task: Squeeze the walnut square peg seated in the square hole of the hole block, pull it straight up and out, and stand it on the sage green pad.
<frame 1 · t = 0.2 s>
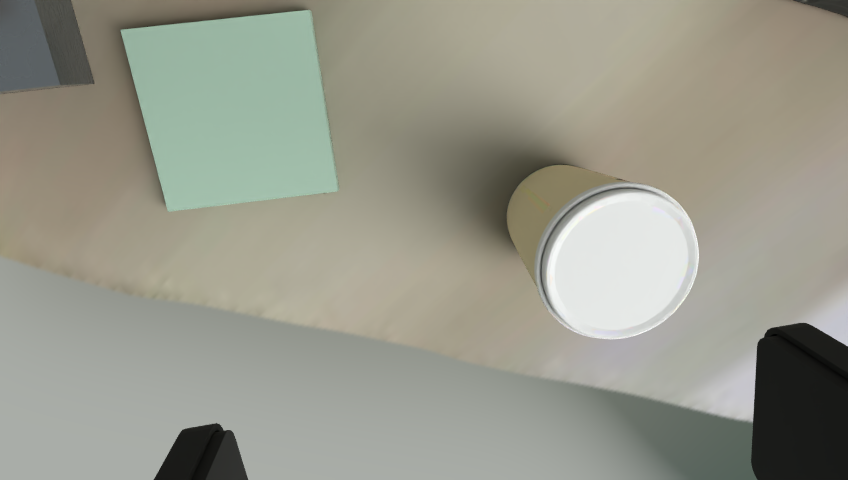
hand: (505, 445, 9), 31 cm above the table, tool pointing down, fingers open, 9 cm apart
coffee cup: (554, 213, 41), on the table
green pad: (239, 114, 37), on the table
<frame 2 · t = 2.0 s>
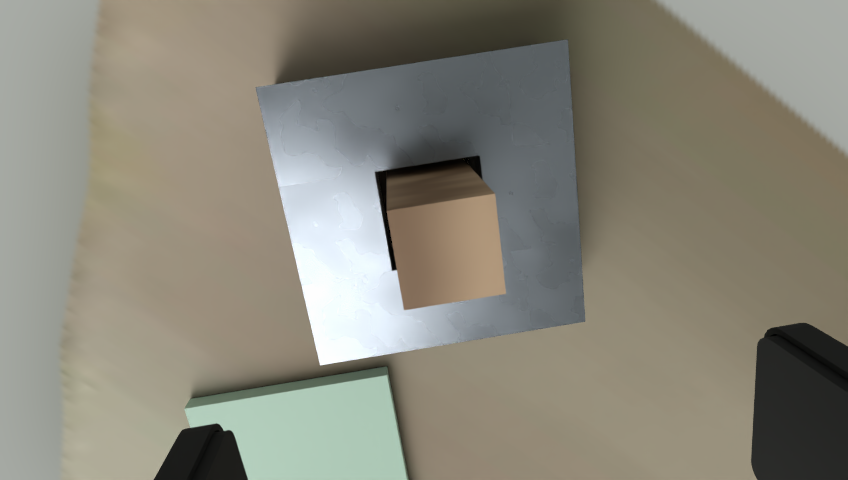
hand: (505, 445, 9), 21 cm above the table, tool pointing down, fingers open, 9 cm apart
hole block: (428, 196, 30), on the table
walnut peg: (436, 219, 25), in the hole block
green pad: (309, 463, 34), on the table
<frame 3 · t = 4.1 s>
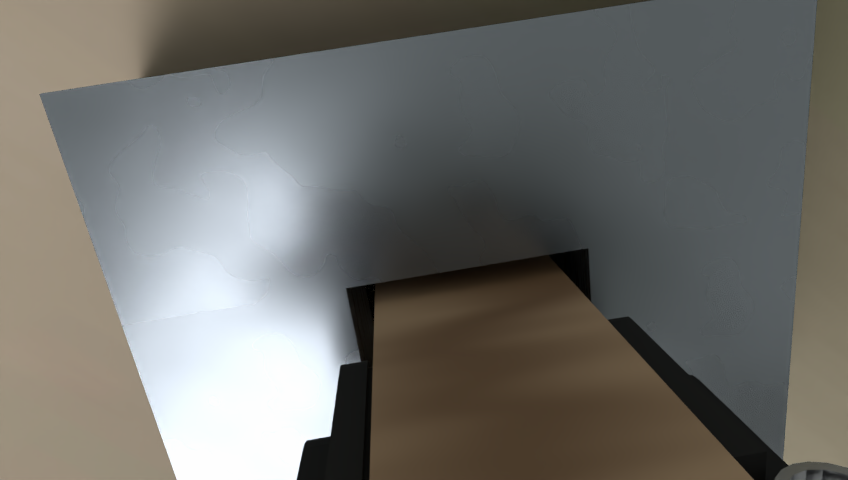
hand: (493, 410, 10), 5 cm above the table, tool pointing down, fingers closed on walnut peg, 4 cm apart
hole block: (456, 300, 15), on the table
walnut peg: (490, 400, 11), in the hole block, touching gripper
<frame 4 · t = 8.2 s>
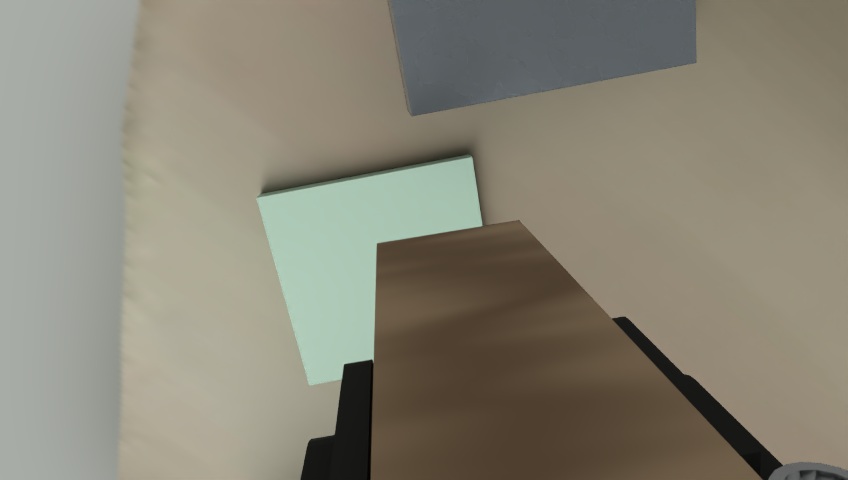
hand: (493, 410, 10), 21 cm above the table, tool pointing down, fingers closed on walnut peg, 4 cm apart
walnut peg: (491, 397, 11), point 21 cm above the table, touching gripper
green pad: (386, 271, 32), on the table
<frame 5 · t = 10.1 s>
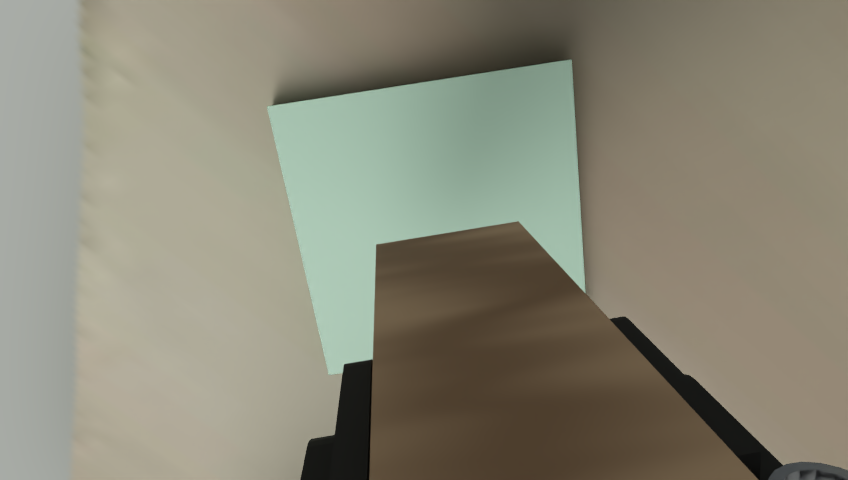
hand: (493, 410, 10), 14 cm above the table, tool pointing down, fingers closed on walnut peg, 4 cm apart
walnut peg: (490, 398, 11), point 14 cm above the table, touching gripper
green pad: (438, 222, 24), on the table
when the fingers open (8 cm above the table, at t = 11.9 s): walnut peg drops 1 cm, resting on green pad.
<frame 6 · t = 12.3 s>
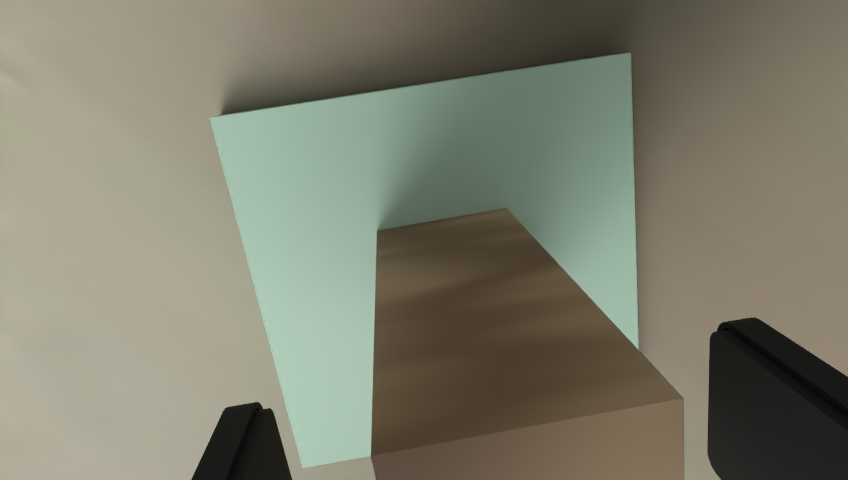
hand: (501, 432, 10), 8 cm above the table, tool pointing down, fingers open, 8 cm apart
walnut peg: (478, 360, 12), on the green pad, point 6 cm above the table
green pad: (446, 269, 18), on the table
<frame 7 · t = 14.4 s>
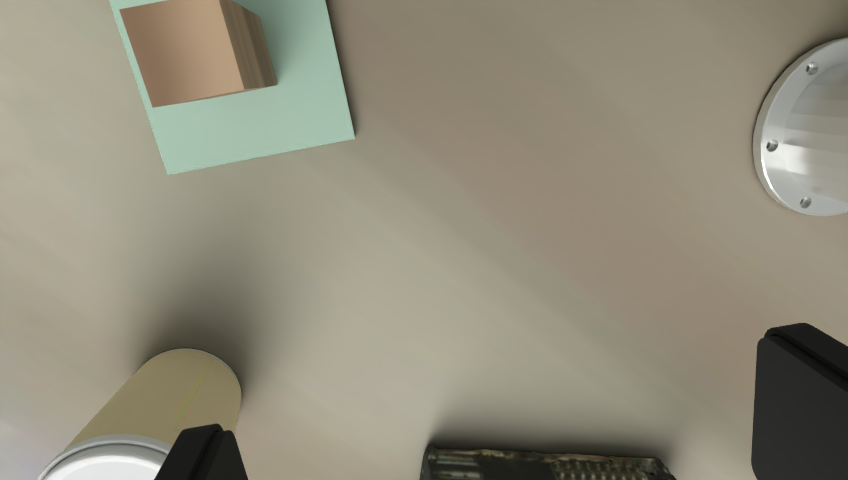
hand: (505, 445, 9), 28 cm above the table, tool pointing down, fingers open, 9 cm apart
coffee cup: (189, 392, 40), on the table
walnut peg: (214, 54, 27), on the green pad, point 6 cm above the table
green pad: (238, 59, 33), on the table
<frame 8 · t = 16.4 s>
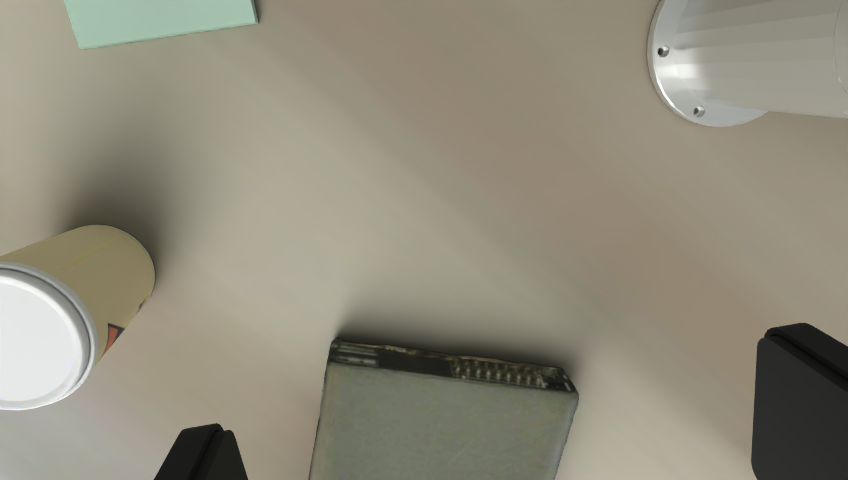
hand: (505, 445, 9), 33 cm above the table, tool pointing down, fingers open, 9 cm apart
coffee cup: (106, 270, 42), on the table
network switch: (429, 446, 50), on the table
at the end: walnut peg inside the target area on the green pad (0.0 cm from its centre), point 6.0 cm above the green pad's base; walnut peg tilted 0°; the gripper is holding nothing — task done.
